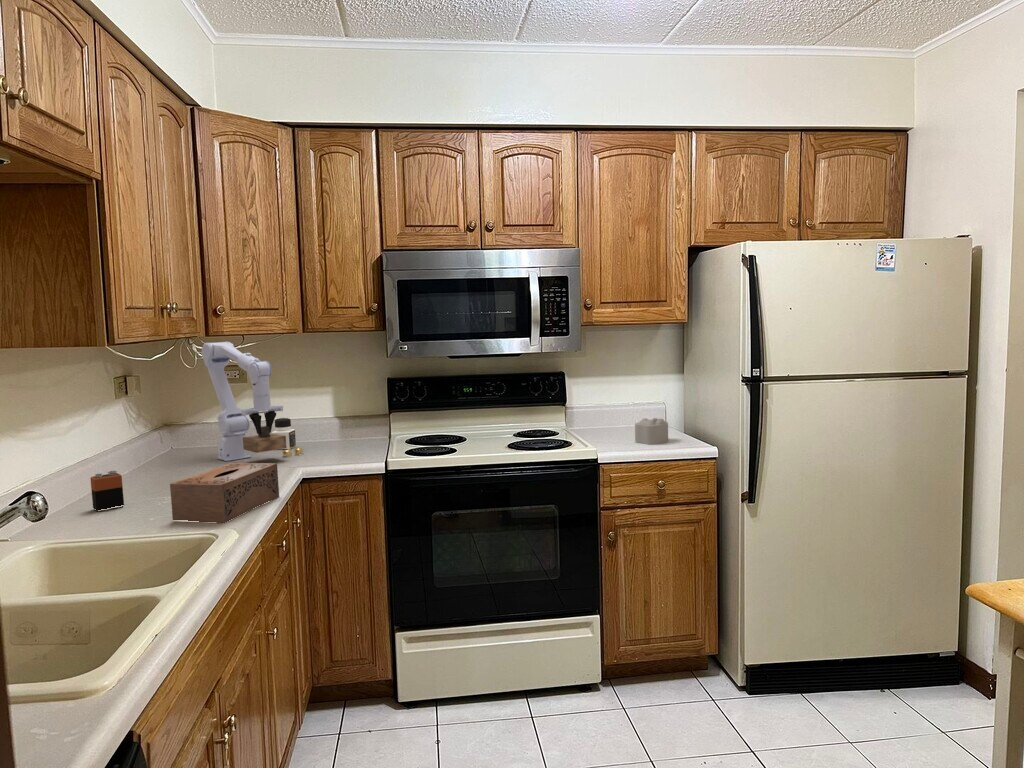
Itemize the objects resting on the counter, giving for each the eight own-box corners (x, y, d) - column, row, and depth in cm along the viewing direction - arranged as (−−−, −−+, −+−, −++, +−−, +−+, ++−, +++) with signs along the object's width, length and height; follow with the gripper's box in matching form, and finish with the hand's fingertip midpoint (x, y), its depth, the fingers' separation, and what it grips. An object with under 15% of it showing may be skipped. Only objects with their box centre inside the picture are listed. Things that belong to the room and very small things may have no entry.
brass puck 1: (285, 457, 258) (284, 451, 258) (281, 456, 260) (280, 450, 260) (293, 456, 260) (292, 450, 260) (289, 455, 263) (288, 449, 262)
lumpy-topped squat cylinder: (631, 442, 265) (631, 419, 265) (653, 437, 273) (653, 416, 273) (652, 445, 257) (652, 422, 256) (675, 440, 265) (675, 418, 264)
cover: (256, 452, 243) (254, 430, 242) (243, 449, 251) (242, 427, 250) (286, 448, 250) (285, 426, 250) (272, 445, 258) (271, 423, 258)
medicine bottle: (290, 449, 275) (288, 419, 274) (272, 450, 275) (270, 419, 274) (296, 446, 282) (294, 416, 281) (278, 446, 282) (276, 417, 281)
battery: (124, 507, 193) (121, 471, 192) (96, 512, 188) (93, 475, 187) (120, 504, 196) (117, 469, 195) (92, 509, 191) (89, 473, 190)
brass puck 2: (296, 455, 261) (296, 449, 261) (292, 454, 264) (292, 448, 263) (304, 454, 263) (304, 448, 263) (300, 453, 266) (300, 447, 265)
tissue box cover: (224, 524, 173) (221, 484, 172) (173, 523, 176) (169, 484, 175) (279, 498, 198) (277, 463, 197) (233, 497, 201) (231, 462, 200)
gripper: (246, 398, 241) (248, 437, 242) (285, 394, 251) (288, 431, 252) (237, 397, 246) (240, 435, 247) (277, 393, 256) (279, 429, 257)
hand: (264, 433), depth 250 cm, fingers closed on cover, 3 cm apart
